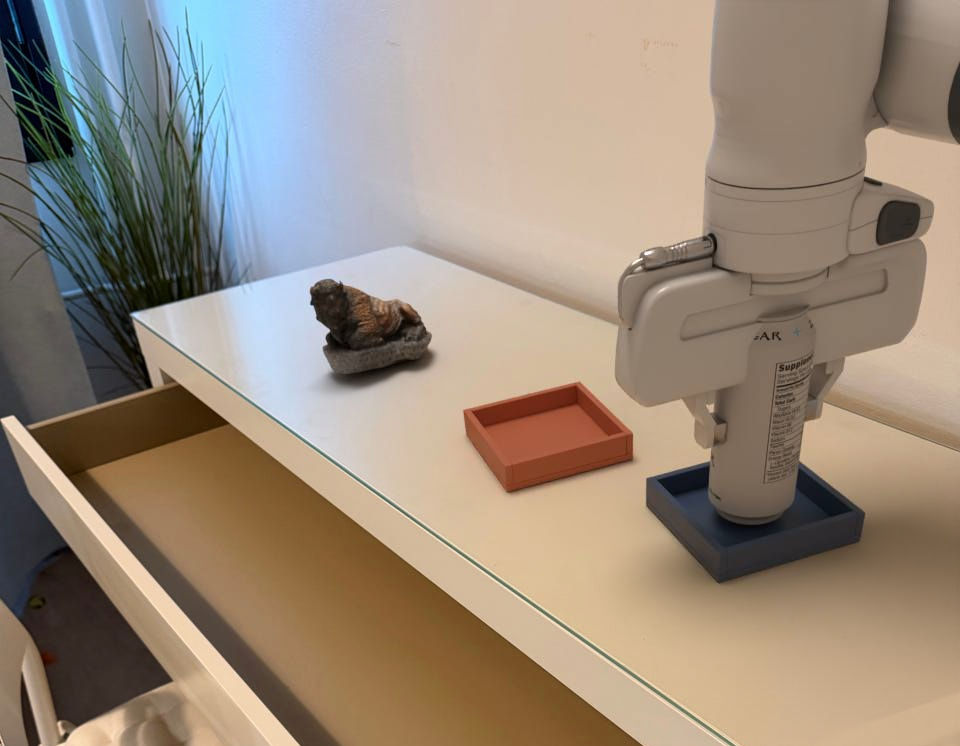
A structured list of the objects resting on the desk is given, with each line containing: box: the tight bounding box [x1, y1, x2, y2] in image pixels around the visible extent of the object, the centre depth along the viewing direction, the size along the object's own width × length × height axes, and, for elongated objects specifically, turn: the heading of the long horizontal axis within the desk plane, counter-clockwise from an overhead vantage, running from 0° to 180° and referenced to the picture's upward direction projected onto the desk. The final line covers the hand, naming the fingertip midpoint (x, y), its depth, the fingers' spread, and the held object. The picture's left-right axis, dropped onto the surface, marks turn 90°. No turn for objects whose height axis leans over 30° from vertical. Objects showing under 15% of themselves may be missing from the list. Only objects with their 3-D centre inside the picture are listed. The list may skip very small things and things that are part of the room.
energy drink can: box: [708, 305, 816, 525], centre depth 63 cm, size 6×6×15 cm
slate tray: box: [645, 460, 866, 583], centre depth 68 cm, size 11×11×2 cm
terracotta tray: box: [462, 381, 634, 493], centre depth 80 cm, size 11×11×2 cm
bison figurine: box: [309, 278, 433, 375], centre depth 94 cm, size 12×7×10 cm, turn 122°
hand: (757, 430), depth 64 cm, fingers closed on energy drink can, 6 cm apart
